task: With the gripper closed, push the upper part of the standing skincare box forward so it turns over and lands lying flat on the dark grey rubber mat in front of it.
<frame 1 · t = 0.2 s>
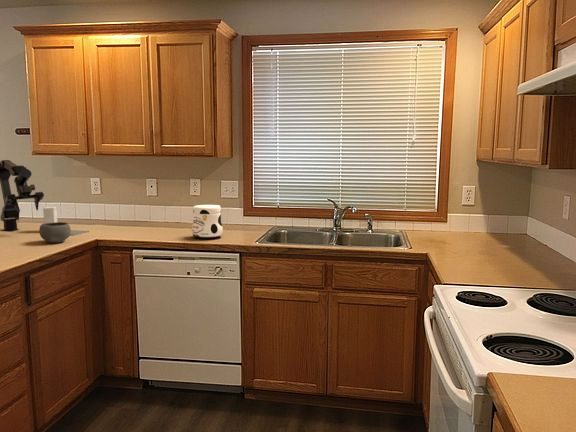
hand: (28, 211, 275), 15 cm above the counter, tool tilted 30°, fingers open, 9 cm apart
milk container: (207, 237, 283), on the counter
skincare box: (51, 232, 294), on the counter
bowl: (55, 242, 263), on the counter
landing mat: (69, 232, 291), on the counter
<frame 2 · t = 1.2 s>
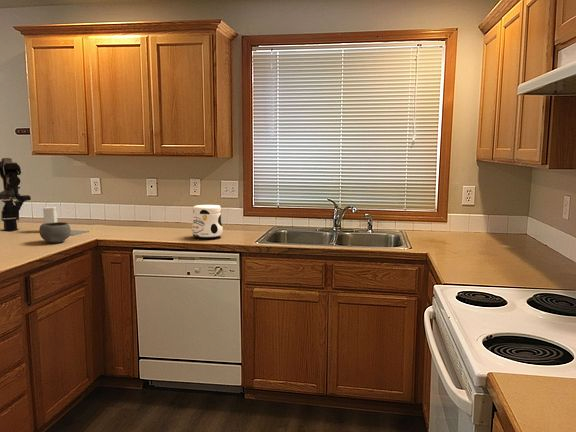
hand: (14, 212, 278), 13 cm above the counter, tool pointing down, fingers open, 4 cm apart
nothing on the counter moved.
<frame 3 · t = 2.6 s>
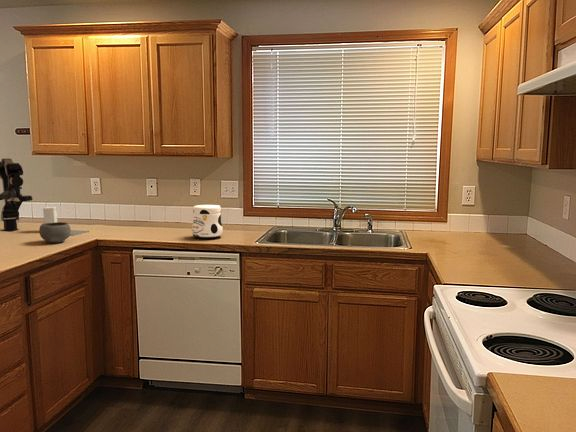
hand: (15, 213, 280), 13 cm above the counter, tool pointing down, fingers closed
nothing on the counter moved.
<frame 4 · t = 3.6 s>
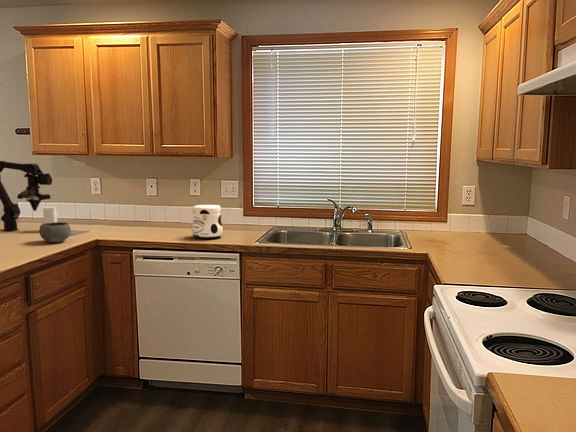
hand: (34, 210, 295), 12 cm above the counter, tool pointing down, fingers closed
nothing on the counter moved.
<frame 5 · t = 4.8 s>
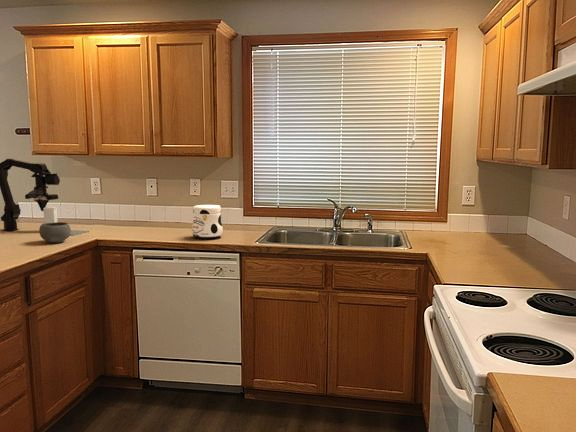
hand: (42, 211, 294), 12 cm above the counter, tool pointing down, fingers closed
skincare box: (51, 232, 294), on the counter, touching gripper
everything else where it was.
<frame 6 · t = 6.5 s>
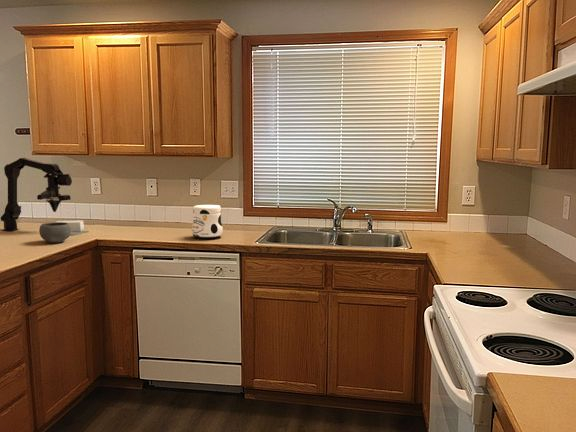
hand: (54, 211, 292), 12 cm above the counter, tool pointing down, fingers closed
skincare box: (55, 226, 294), point 3 cm above the counter, touching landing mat
everything else where it was.
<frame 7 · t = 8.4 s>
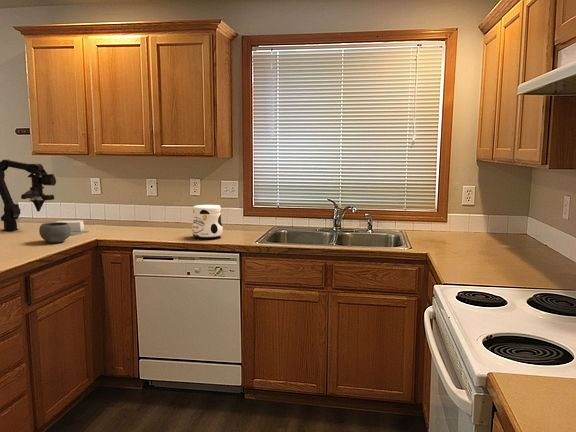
hand: (38, 211, 294), 12 cm above the counter, tool pointing down, fingers closed
nothing on the counter moved.
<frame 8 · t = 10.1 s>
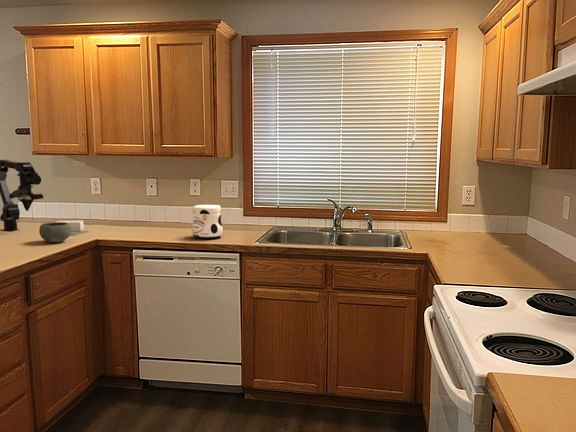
hand: (27, 210, 288), 13 cm above the counter, tool pointing down, fingers closed
nothing on the counter moved.
at the end: skincare box tilted 91°; skincare box inside the target area (10.8 cm from its centre), point 3.4 cm above the counter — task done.
